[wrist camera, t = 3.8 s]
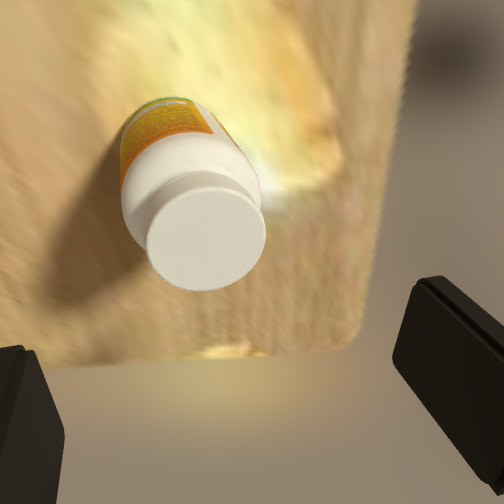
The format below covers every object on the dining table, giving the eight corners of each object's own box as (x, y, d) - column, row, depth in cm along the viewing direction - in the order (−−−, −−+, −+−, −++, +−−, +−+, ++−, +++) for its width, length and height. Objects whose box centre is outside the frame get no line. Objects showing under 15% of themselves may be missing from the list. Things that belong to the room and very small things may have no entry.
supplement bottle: (102, 169, 20) (92, 283, 12) (148, 71, 18) (169, 131, 10) (194, 209, 23) (234, 324, 15) (242, 127, 21) (316, 208, 13)
